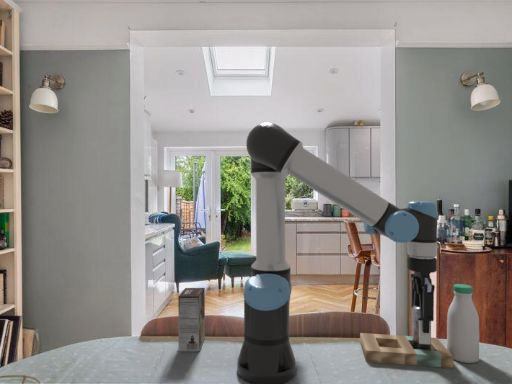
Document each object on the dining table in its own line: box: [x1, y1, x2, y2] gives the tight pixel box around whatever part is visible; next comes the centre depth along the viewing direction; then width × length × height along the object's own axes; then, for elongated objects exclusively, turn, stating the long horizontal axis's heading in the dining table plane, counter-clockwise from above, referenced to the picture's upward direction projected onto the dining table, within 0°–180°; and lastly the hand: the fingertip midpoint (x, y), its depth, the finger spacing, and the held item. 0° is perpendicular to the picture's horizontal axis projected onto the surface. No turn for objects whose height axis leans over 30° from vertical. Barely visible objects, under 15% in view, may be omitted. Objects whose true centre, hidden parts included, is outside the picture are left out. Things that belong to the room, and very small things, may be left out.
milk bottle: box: [446, 283, 480, 364], centre depth 98 cm, size 8×8×20 cm
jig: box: [359, 332, 454, 369], centre depth 99 cm, size 22×12×3 cm, turn 81°
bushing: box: [412, 305, 432, 350], centre depth 98 cm, size 5×5×12 cm
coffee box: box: [177, 287, 206, 352], centre depth 105 cm, size 9×6×16 cm
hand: (421, 339), depth 98 cm, fingers closed on bushing, 5 cm apart
